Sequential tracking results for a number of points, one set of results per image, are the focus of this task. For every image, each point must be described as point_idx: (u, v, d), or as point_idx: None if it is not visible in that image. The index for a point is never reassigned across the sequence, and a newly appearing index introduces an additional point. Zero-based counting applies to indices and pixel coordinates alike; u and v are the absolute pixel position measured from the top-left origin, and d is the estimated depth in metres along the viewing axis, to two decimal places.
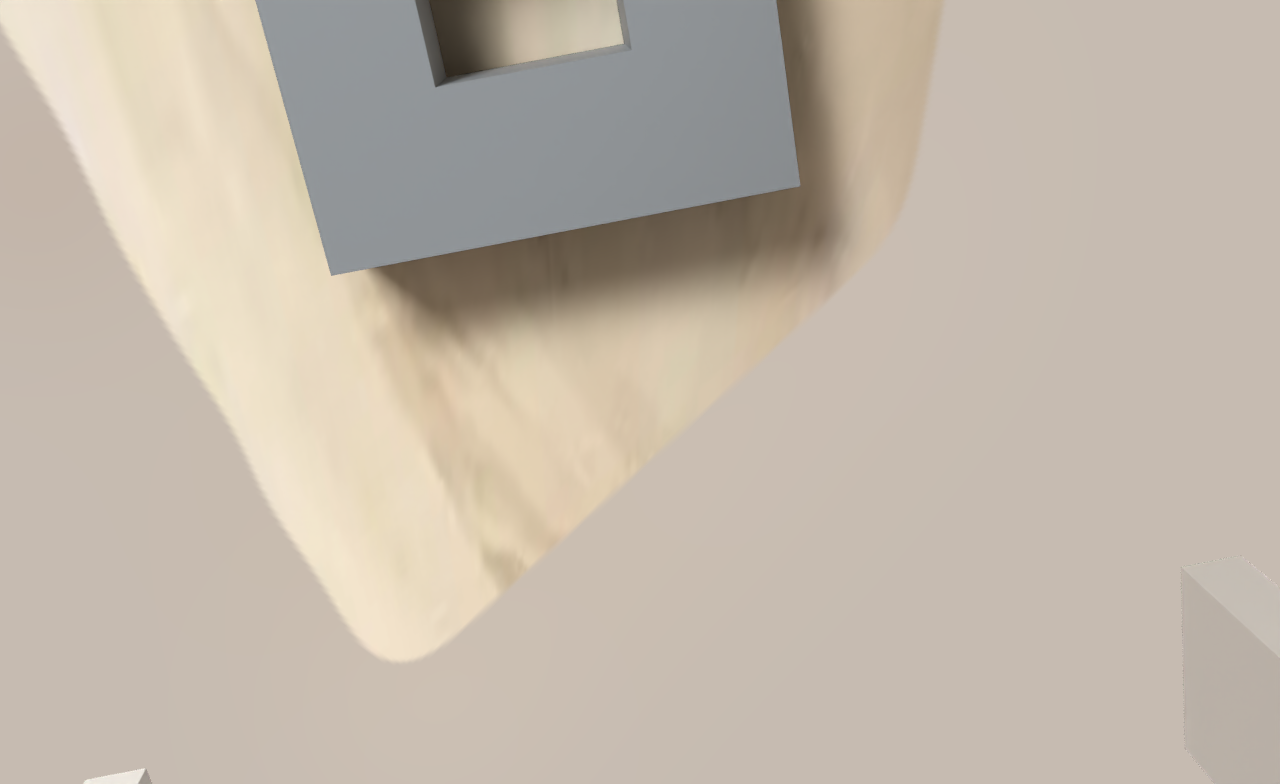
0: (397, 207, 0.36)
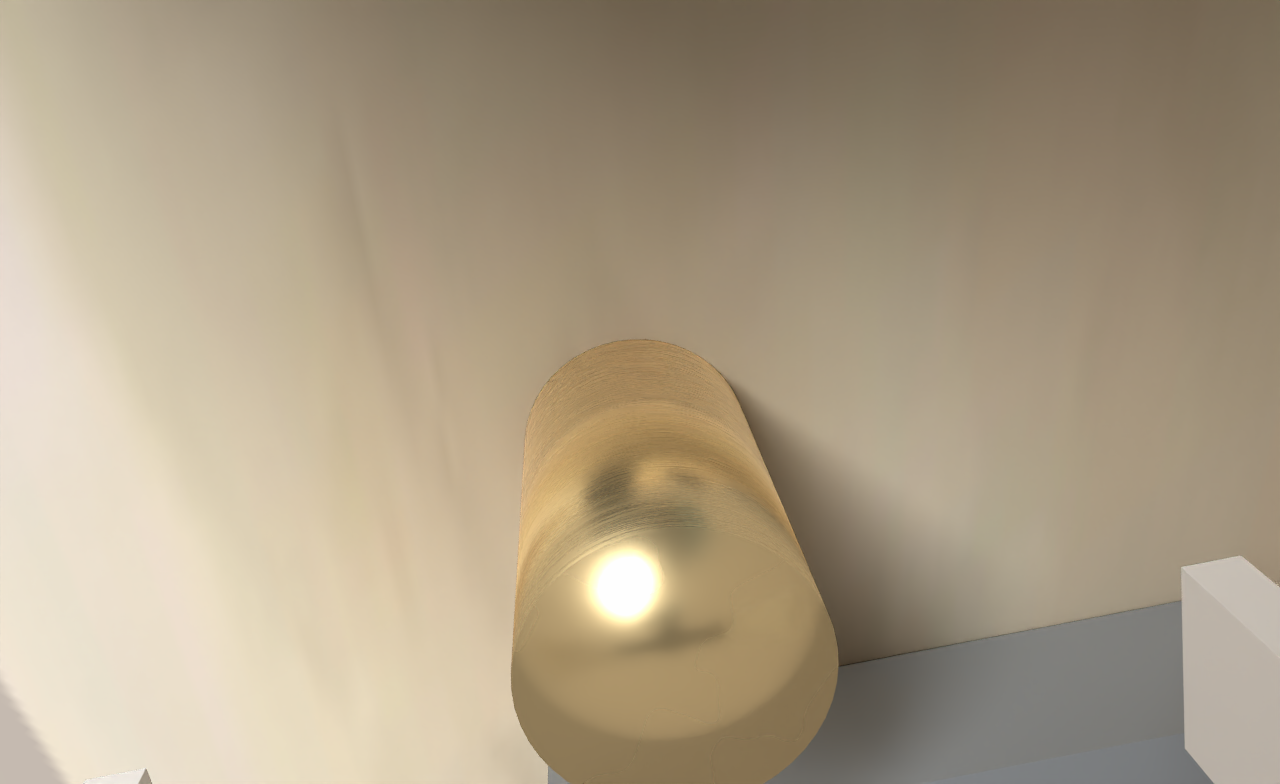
0: None
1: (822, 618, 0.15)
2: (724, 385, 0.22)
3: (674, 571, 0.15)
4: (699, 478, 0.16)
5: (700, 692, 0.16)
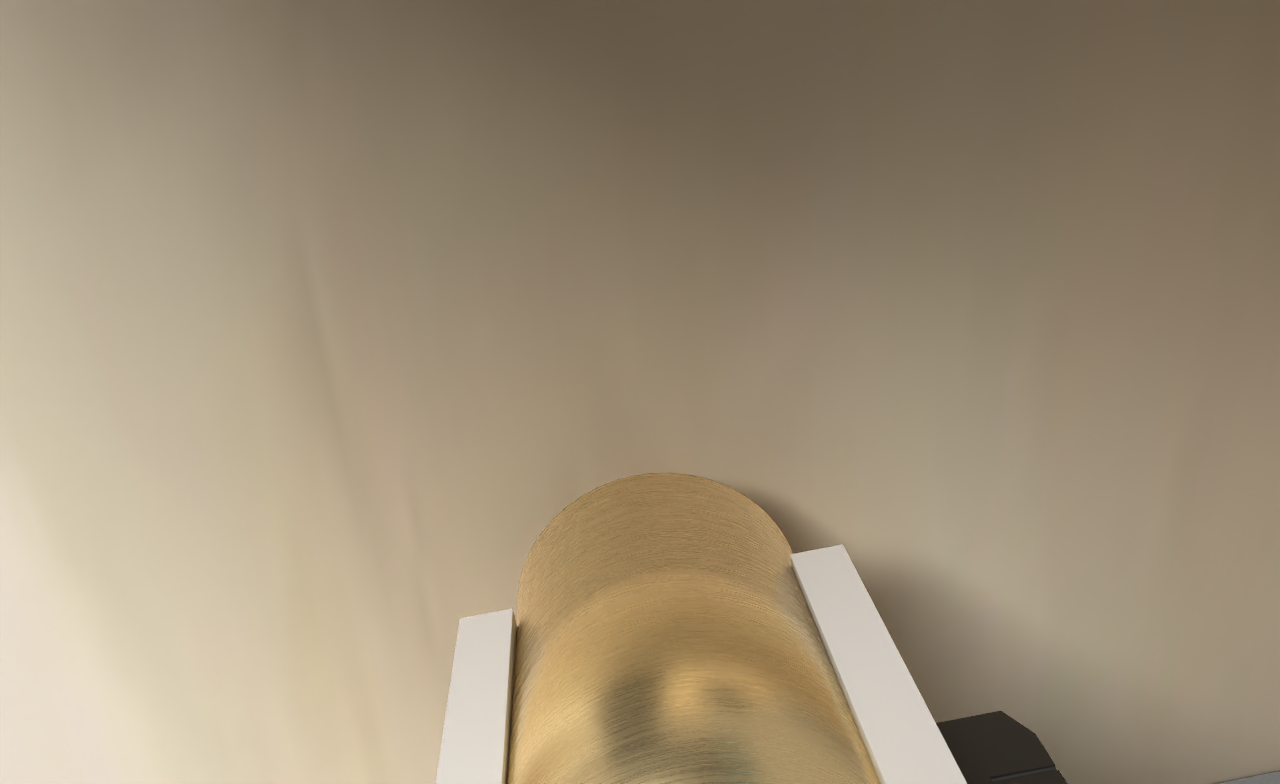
0: None
1: None
2: (774, 534, 0.17)
3: None
4: (757, 733, 0.11)
5: None
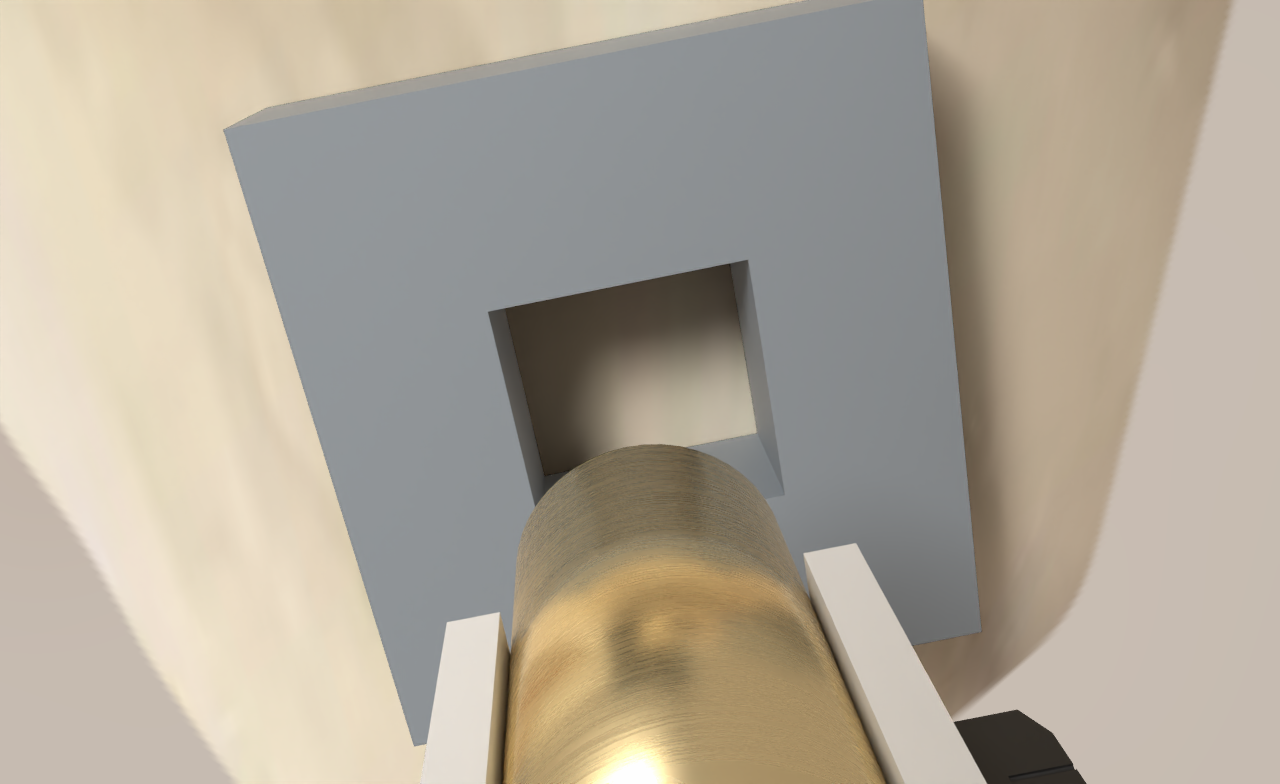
0: None
1: None
2: (759, 501, 0.18)
3: None
4: (740, 669, 0.12)
5: None
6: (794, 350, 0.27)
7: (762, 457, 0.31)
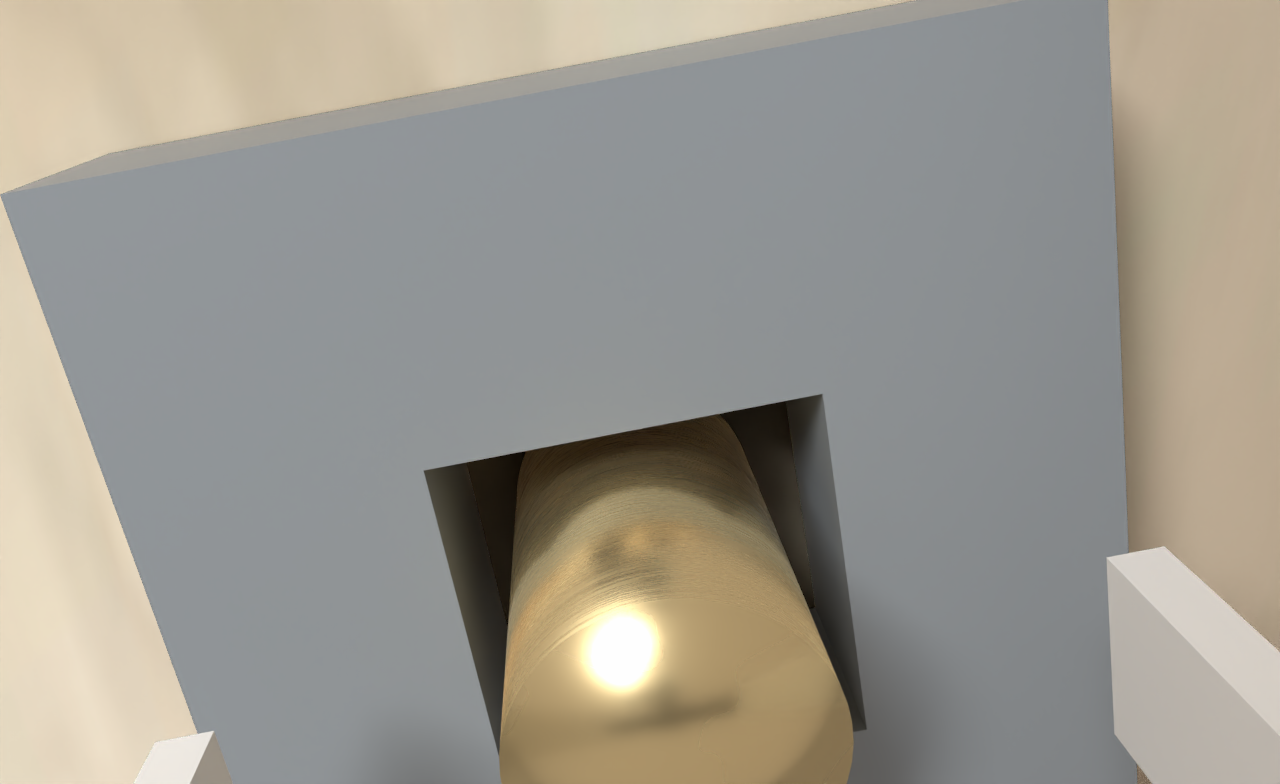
0: None
1: (835, 694, 0.14)
2: (726, 430, 0.21)
3: (676, 646, 0.14)
4: (701, 540, 0.15)
5: (705, 775, 0.14)
6: (888, 525, 0.18)
7: None
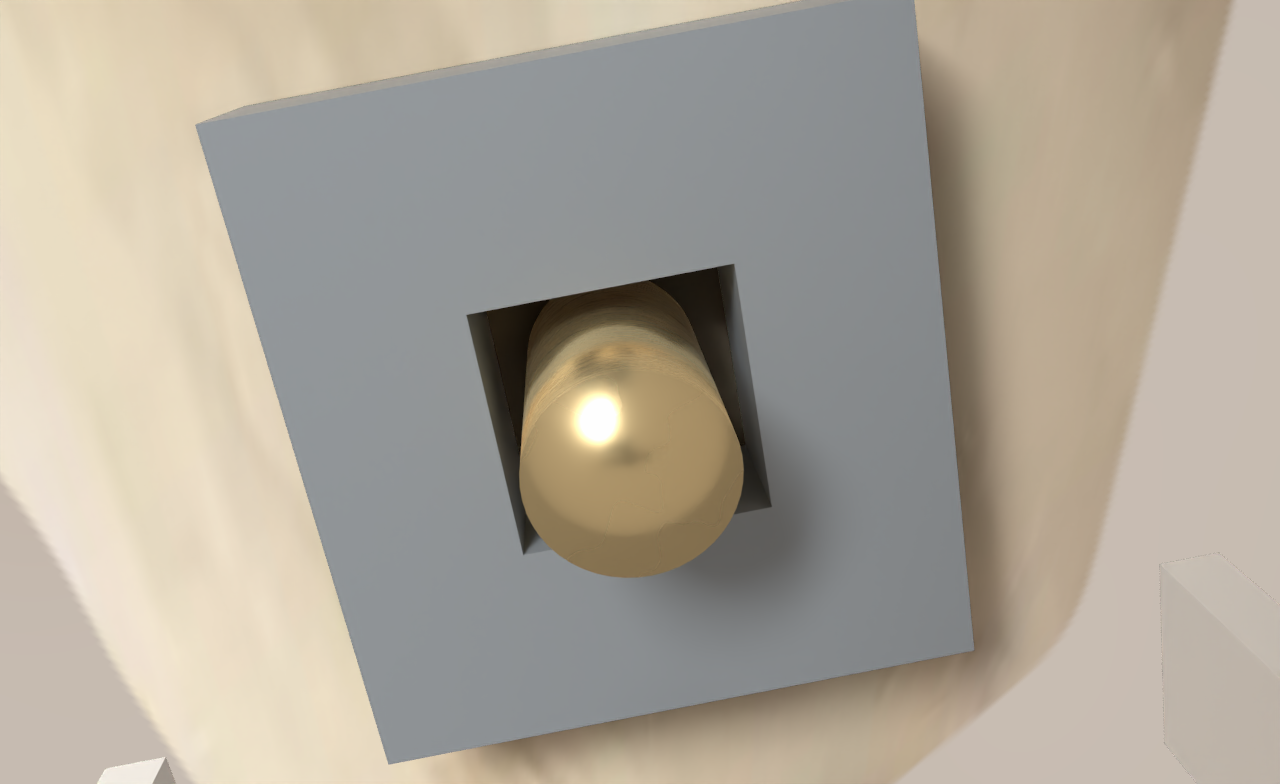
0: (472, 688, 0.29)
1: (731, 435, 0.23)
2: (677, 306, 0.29)
3: (629, 400, 0.22)
4: (648, 347, 0.24)
5: (649, 489, 0.23)
6: (782, 357, 0.26)
7: (749, 469, 0.30)
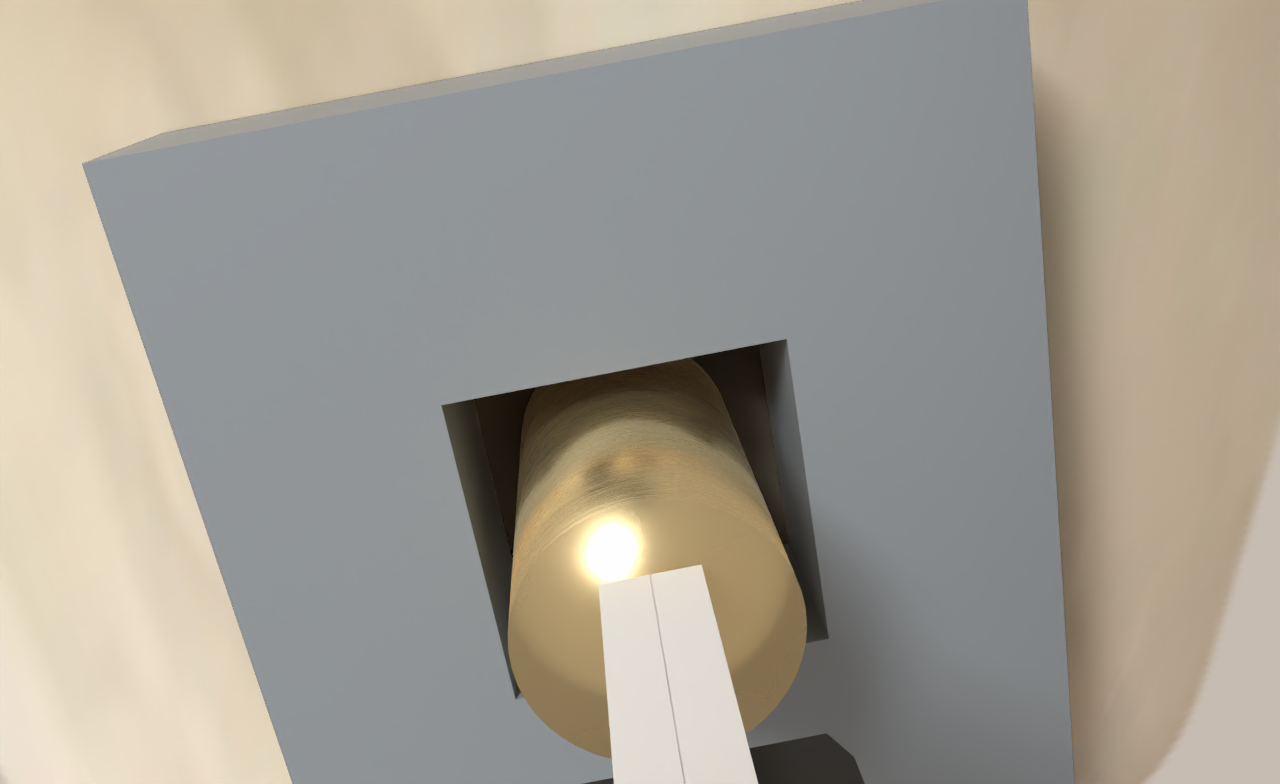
0: None
1: (791, 582, 0.17)
2: (707, 379, 0.23)
3: (656, 539, 0.16)
4: (679, 458, 0.18)
5: None
6: (845, 455, 0.21)
7: None
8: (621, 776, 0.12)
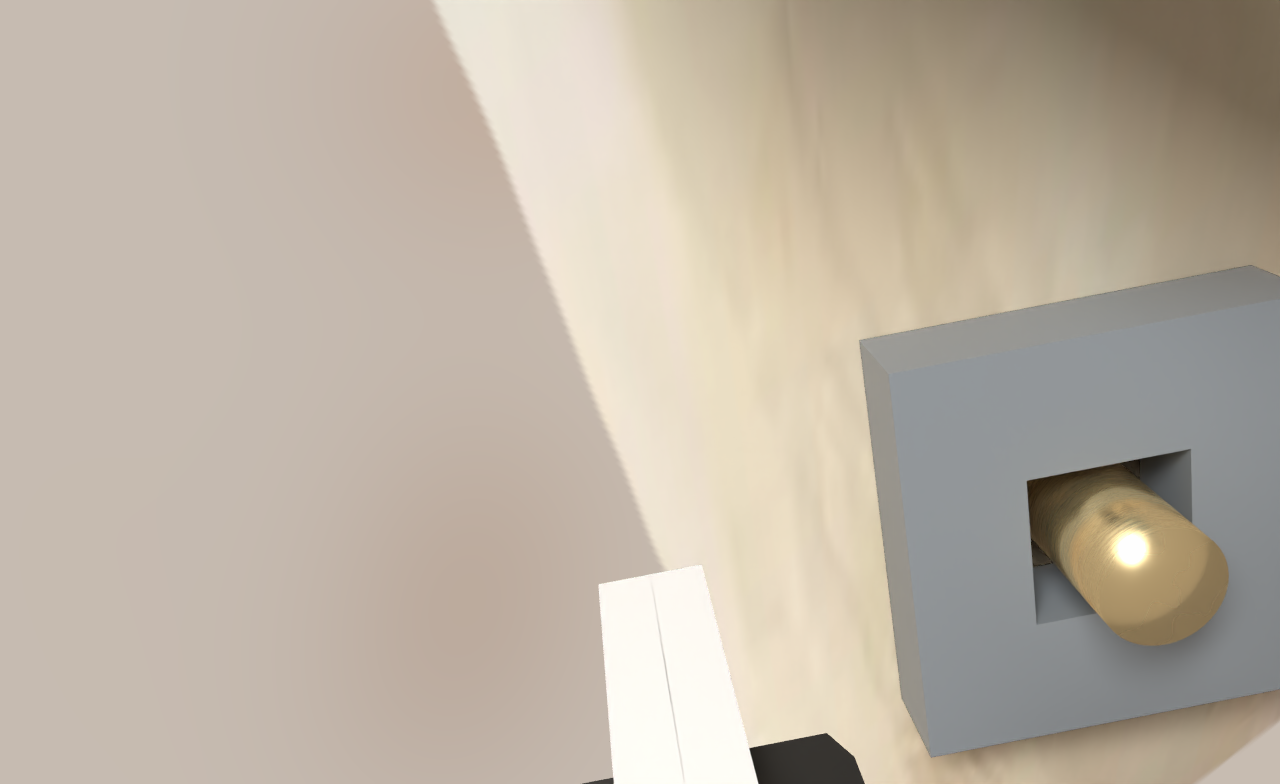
0: (991, 708, 0.45)
1: (1223, 563, 0.39)
2: None
3: (1169, 544, 0.38)
4: (1162, 508, 0.39)
5: (1173, 595, 0.39)
6: (1212, 503, 0.42)
7: None
8: (621, 776, 0.12)
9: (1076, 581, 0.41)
